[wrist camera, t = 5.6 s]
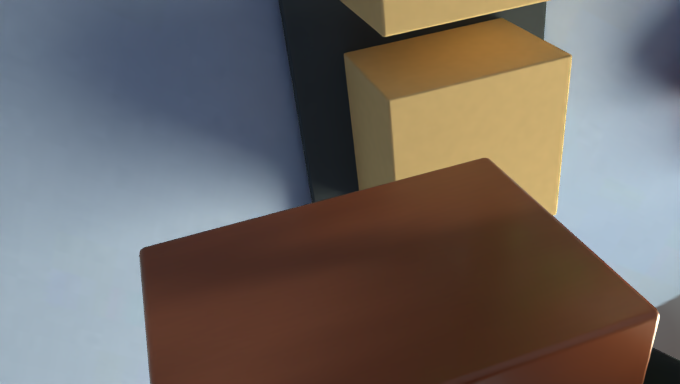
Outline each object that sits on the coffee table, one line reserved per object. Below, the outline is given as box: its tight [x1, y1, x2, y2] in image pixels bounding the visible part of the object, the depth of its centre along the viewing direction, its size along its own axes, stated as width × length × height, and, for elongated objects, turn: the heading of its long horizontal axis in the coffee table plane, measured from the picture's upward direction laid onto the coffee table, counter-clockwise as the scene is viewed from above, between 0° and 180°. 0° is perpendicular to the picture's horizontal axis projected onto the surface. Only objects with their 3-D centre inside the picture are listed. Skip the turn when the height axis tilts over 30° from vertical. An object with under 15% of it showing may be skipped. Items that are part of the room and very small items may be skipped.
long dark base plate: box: [279, 0, 572, 215], centre depth 18 cm, size 8×22×4 cm, turn 7°
